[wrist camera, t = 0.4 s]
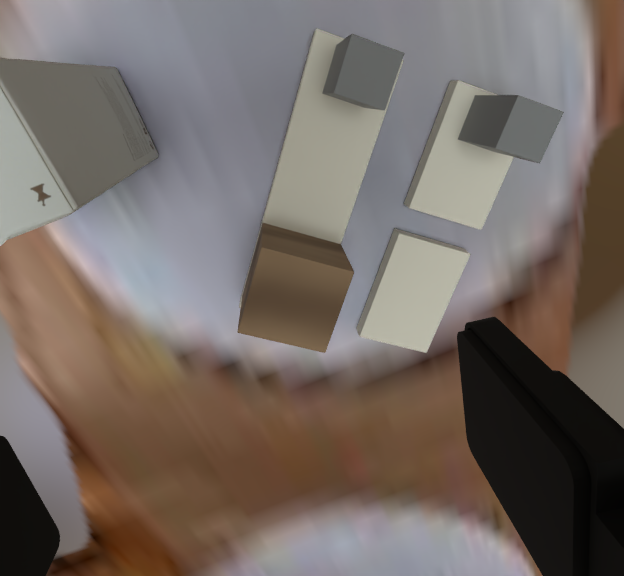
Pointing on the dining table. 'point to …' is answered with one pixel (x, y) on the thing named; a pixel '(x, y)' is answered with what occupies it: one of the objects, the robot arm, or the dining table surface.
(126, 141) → the skincare box
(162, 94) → the dining table surface
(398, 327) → the broken strip
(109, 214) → the dining table surface
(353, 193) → the cream strip
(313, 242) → the walnut cube
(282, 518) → the dining table surface
